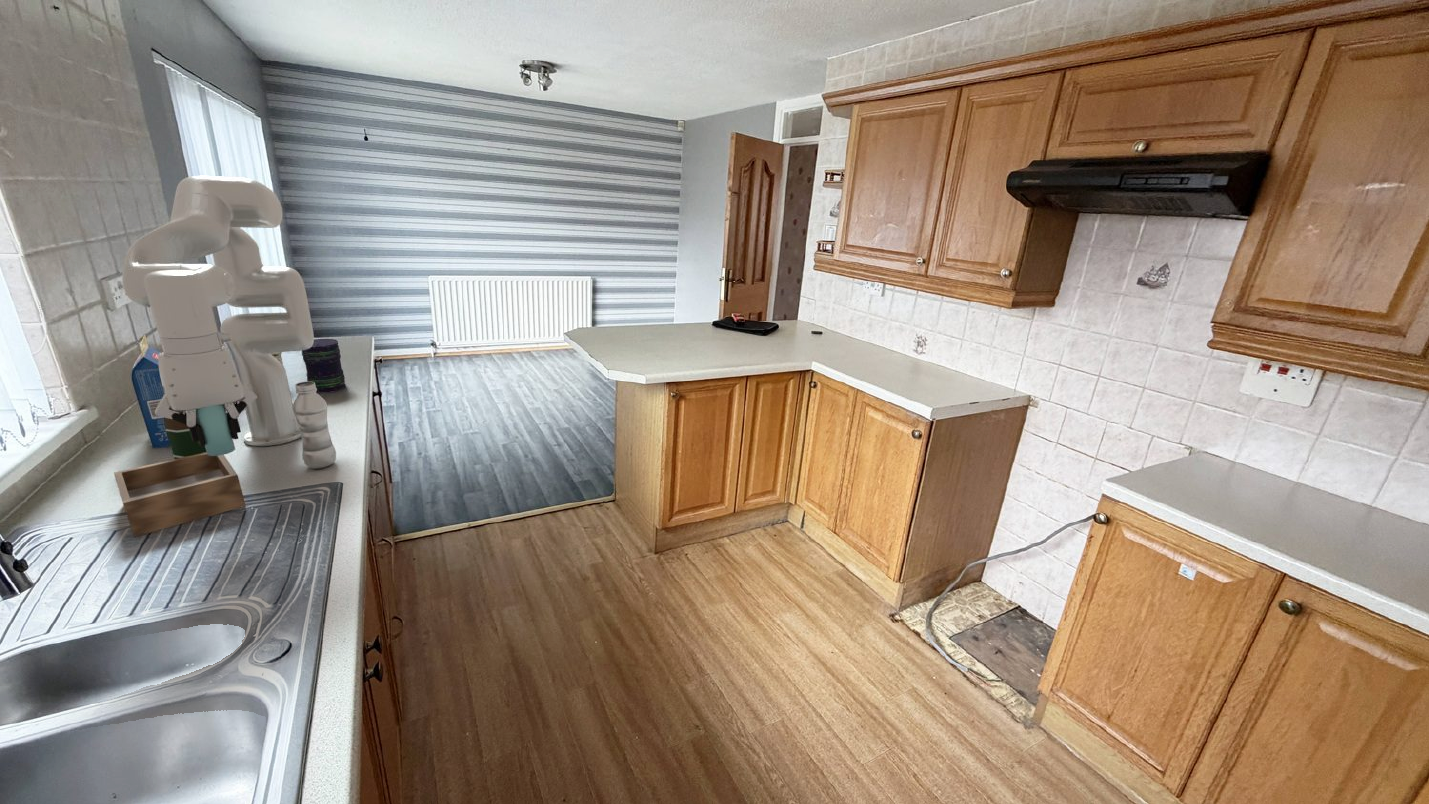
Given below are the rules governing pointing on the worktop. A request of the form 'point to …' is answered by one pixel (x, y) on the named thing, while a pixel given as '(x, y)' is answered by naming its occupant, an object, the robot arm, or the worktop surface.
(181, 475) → the box
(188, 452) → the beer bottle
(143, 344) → the blue food package
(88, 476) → the worktop surface
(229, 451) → the peg
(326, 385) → the storage jar
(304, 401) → the plastic bottle
